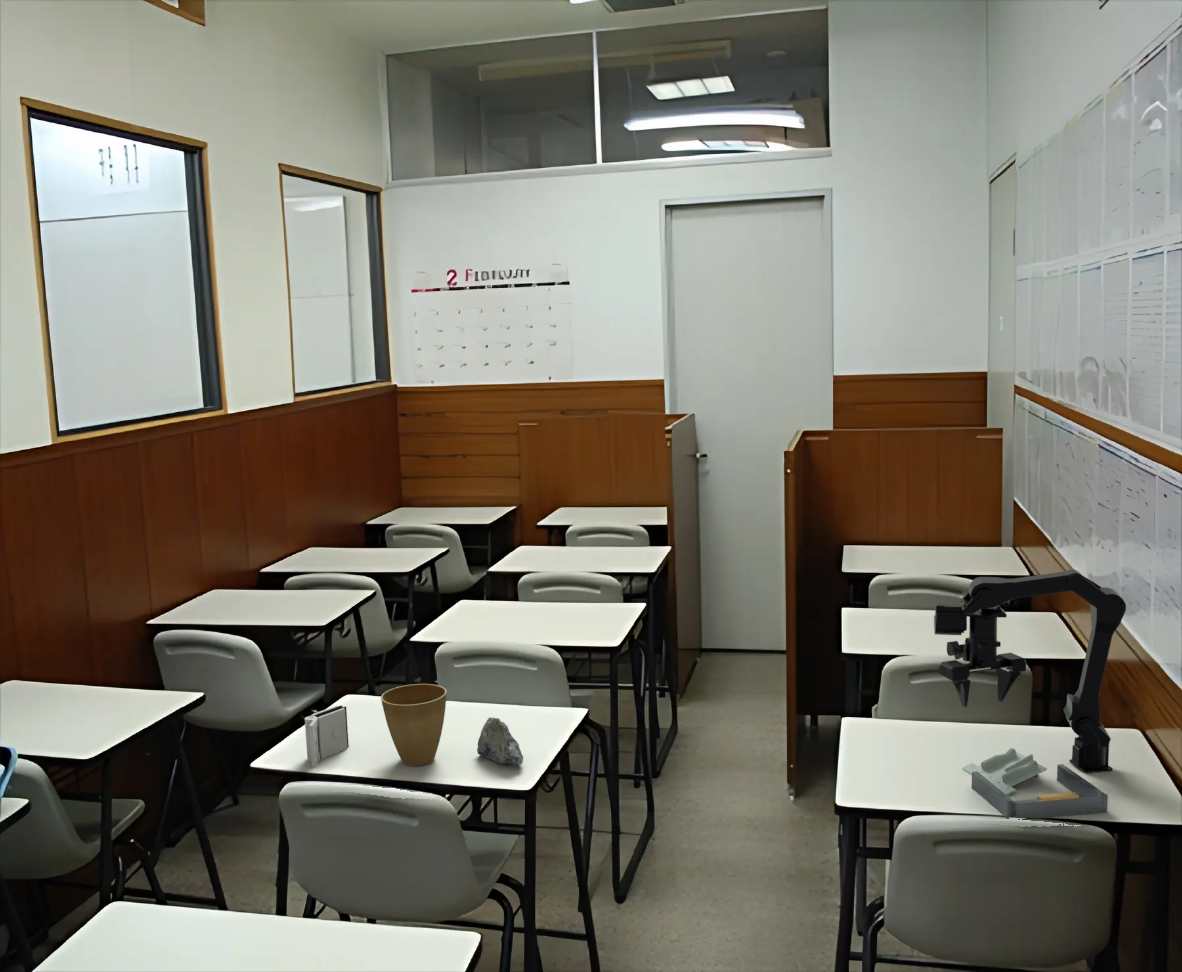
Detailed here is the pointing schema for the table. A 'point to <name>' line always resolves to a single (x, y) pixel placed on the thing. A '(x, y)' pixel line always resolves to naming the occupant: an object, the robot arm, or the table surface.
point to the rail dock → (1046, 798)
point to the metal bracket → (1007, 769)
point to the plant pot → (415, 720)
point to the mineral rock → (498, 743)
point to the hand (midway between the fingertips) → (982, 703)
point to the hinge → (326, 733)
